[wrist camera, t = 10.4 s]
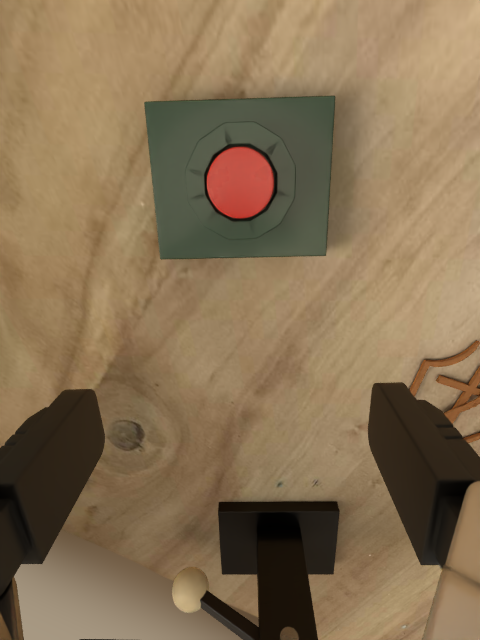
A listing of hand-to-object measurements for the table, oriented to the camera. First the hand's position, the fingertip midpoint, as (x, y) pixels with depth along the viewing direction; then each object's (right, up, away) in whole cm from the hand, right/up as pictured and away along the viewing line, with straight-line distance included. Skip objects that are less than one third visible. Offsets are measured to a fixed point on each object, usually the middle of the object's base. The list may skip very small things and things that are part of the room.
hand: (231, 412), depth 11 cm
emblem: (+20, -5, +22) cm, 30 cm away
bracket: (+4, -20, +28) cm, 35 cm away
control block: (0, +13, +16) cm, 20 cm away
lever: (+1, -23, +22) cm, 31 cm away
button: (0, +11, +13) cm, 17 cm away
